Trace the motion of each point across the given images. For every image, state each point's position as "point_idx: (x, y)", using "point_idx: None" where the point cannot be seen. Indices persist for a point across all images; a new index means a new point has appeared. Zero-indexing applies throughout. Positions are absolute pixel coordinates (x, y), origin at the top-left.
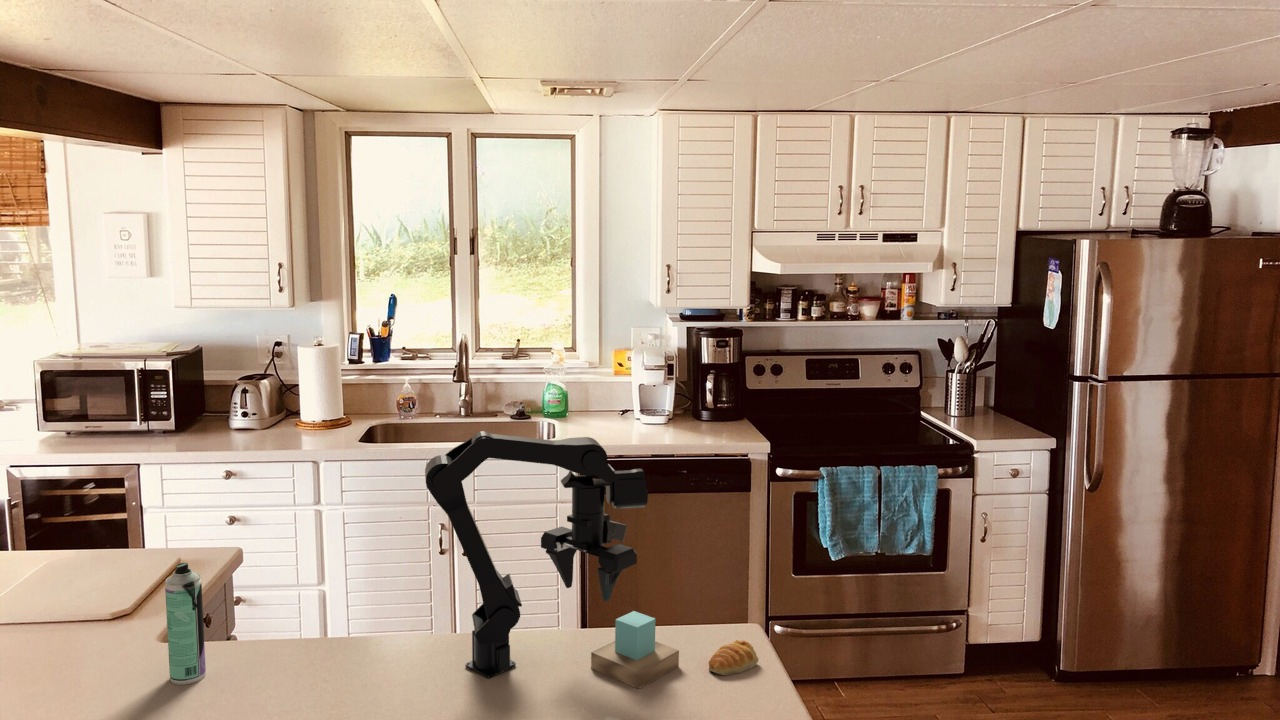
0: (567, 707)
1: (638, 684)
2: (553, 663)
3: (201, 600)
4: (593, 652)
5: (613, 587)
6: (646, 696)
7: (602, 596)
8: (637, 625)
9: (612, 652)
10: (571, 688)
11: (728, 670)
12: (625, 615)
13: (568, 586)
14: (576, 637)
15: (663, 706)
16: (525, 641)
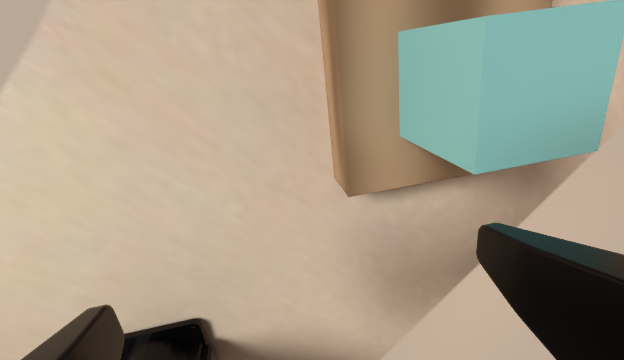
0: (426, 307)
1: None
2: (243, 239)
3: None
4: (354, 192)
5: (621, 260)
6: None
7: (506, 295)
8: (590, 136)
9: (397, 146)
10: (376, 267)
11: None
12: (486, 103)
13: (119, 342)
14: (114, 79)
15: (574, 157)
16: (52, 233)
